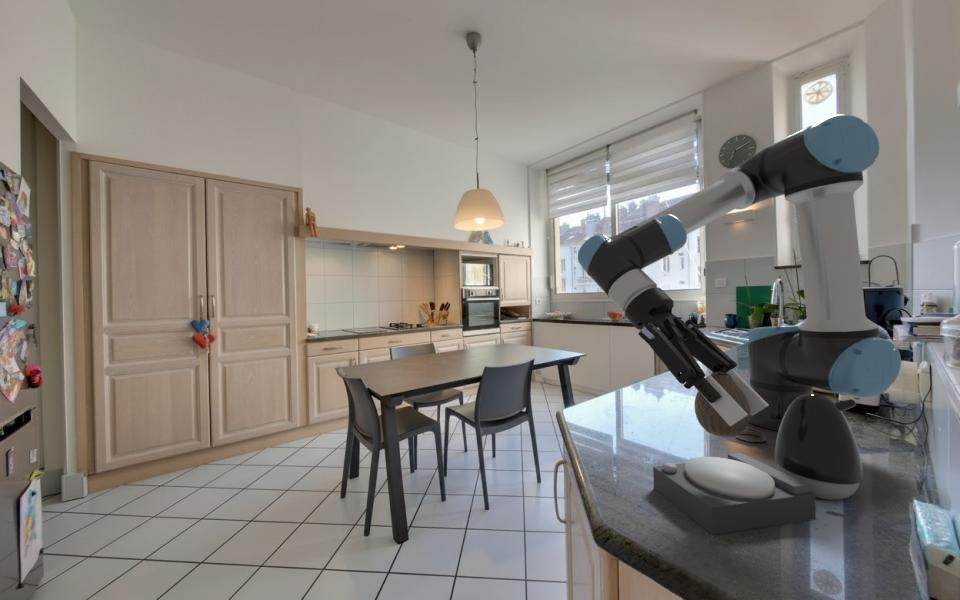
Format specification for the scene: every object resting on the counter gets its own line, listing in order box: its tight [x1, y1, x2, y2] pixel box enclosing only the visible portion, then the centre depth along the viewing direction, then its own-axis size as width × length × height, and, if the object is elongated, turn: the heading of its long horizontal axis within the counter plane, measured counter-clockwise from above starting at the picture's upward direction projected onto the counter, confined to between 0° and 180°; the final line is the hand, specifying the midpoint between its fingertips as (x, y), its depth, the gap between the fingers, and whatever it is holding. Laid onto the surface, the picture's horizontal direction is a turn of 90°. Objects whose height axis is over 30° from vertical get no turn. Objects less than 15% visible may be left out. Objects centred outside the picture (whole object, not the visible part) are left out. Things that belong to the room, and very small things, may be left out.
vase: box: [694, 372, 750, 438], centre depth 55 cm, size 7×7×9 cm
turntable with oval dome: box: [652, 452, 817, 536], centre depth 55 cm, size 16×12×4 cm
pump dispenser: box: [773, 392, 864, 501], centre depth 58 cm, size 10×10×15 cm
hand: (749, 415), depth 52 cm, fingers closed on vase, 7 cm apart
